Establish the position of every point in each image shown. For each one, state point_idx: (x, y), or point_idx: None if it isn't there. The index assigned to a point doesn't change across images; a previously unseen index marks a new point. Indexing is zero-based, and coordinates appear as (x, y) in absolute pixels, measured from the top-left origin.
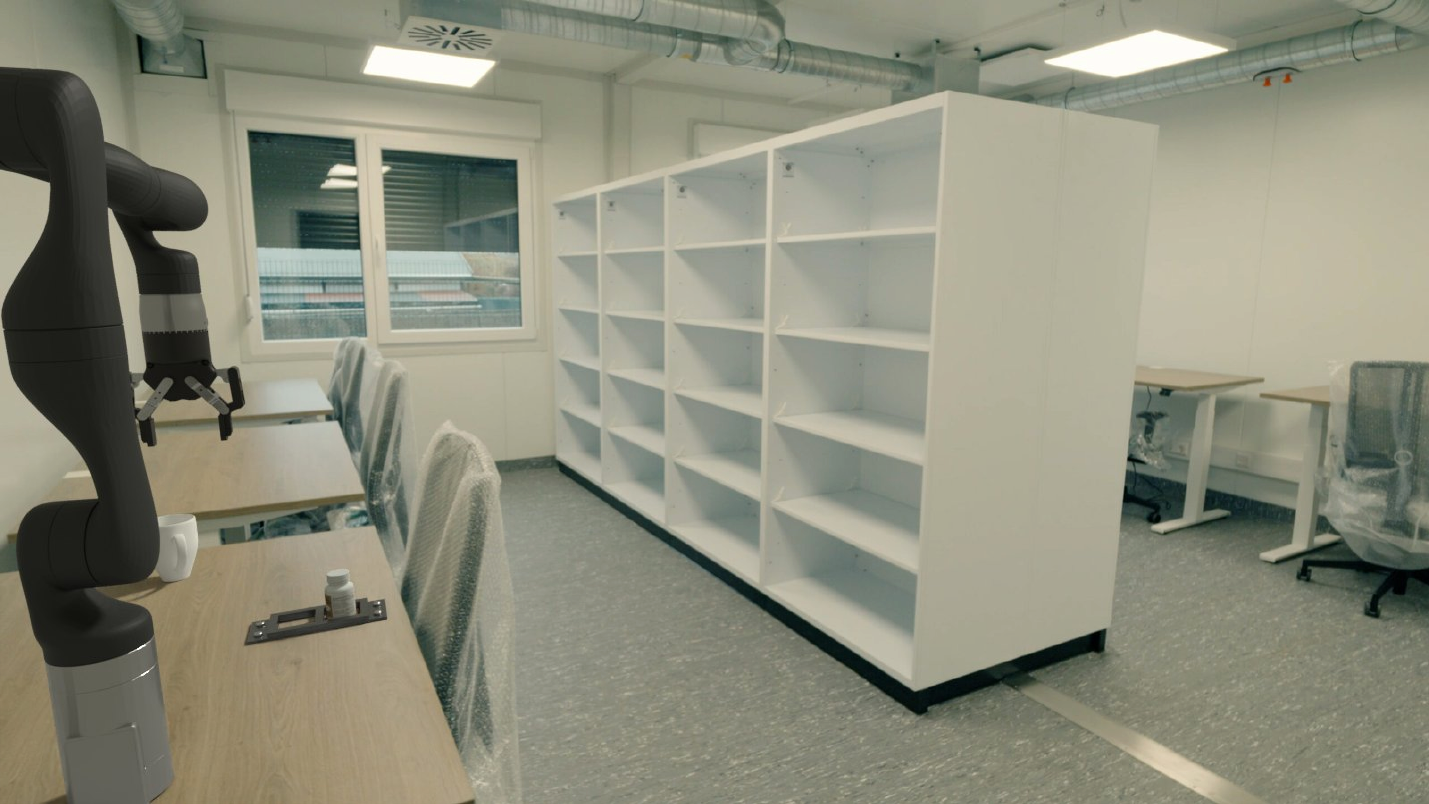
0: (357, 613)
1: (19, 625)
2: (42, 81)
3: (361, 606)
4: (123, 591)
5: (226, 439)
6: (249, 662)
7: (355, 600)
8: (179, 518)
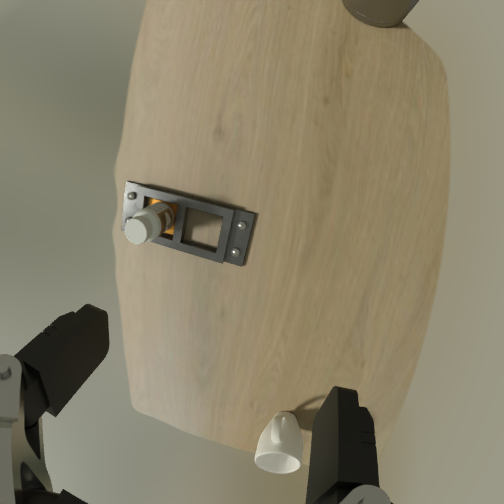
0: None
1: (401, 395)
2: None
3: None
4: None
5: (89, 304)
6: (259, 165)
7: None
8: (267, 467)
